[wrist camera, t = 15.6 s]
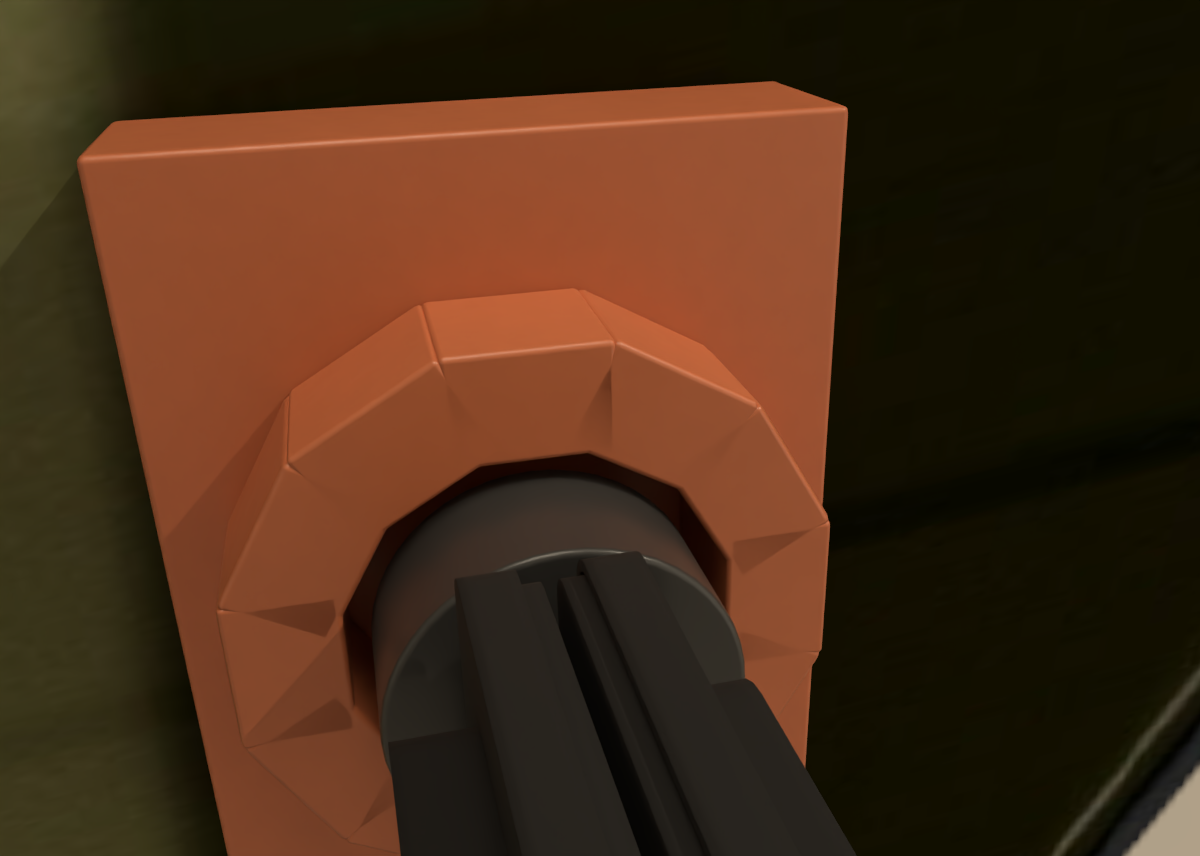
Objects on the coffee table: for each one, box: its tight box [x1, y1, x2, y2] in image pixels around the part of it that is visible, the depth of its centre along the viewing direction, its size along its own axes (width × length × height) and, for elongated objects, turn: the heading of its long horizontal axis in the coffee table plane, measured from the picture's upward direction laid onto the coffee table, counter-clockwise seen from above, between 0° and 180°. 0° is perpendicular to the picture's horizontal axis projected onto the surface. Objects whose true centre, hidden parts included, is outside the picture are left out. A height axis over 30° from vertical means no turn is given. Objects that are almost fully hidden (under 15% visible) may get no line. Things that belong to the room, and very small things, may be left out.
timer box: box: [77, 81, 848, 856], centre depth 14 cm, size 10×8×4 cm
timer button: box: [371, 469, 745, 777], centre depth 12 cm, size 4×4×2 cm
